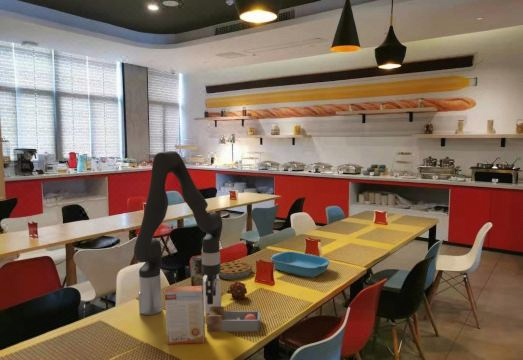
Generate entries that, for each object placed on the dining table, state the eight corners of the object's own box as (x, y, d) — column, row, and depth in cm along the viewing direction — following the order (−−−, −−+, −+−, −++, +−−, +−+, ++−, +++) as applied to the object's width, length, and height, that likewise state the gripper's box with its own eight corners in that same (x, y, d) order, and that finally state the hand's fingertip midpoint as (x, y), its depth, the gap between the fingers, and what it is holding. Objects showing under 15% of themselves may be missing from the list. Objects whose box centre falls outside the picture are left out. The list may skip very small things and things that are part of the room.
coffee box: (211, 285, 211) (210, 256, 209) (208, 290, 204) (207, 259, 203) (194, 285, 212) (193, 255, 210) (190, 289, 205) (189, 259, 203)
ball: (241, 322, 162) (250, 331, 162) (250, 314, 161) (258, 323, 162) (242, 317, 167) (250, 325, 167) (250, 309, 166) (259, 317, 167)
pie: (209, 271, 234) (209, 262, 234) (243, 265, 244) (243, 257, 243) (221, 282, 215) (221, 274, 214) (258, 276, 224) (258, 267, 223)
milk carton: (205, 314, 176) (204, 273, 173) (203, 308, 182) (202, 268, 180) (221, 312, 177) (220, 271, 175) (219, 306, 184) (217, 266, 182)
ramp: (207, 331, 160) (206, 316, 160) (210, 321, 169) (209, 306, 169) (223, 331, 160) (223, 316, 160) (226, 320, 169) (225, 306, 169)
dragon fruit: (243, 305, 189) (230, 300, 199) (254, 291, 193) (241, 287, 203) (233, 293, 186) (220, 289, 196) (244, 279, 190) (231, 276, 200)
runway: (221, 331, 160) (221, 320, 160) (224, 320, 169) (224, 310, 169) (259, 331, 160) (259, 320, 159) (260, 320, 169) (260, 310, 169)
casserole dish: (263, 269, 236) (263, 257, 236) (285, 259, 254) (285, 249, 253) (317, 282, 214) (317, 269, 213) (336, 271, 231) (336, 259, 230)
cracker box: (205, 335, 157) (203, 285, 155) (203, 343, 151) (201, 290, 149) (169, 336, 156) (167, 285, 154) (166, 344, 150) (164, 291, 148)
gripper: (218, 267, 155) (218, 307, 157) (222, 256, 169) (222, 292, 171) (199, 267, 155) (199, 307, 157) (204, 256, 169) (205, 292, 171)
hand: (211, 299), depth 164 cm, fingers open, 8 cm apart
